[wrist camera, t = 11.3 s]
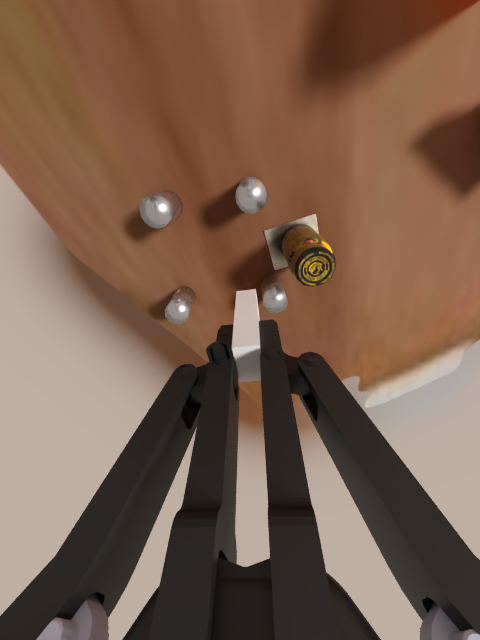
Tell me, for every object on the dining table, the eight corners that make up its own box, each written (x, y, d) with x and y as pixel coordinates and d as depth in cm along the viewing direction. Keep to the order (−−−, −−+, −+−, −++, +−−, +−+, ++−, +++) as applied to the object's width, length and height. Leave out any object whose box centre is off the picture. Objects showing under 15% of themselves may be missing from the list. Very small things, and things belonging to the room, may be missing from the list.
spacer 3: (235, 178, 35) (233, 181, 29) (262, 174, 34) (265, 175, 29) (239, 207, 37) (238, 215, 31) (264, 203, 37) (268, 210, 31)
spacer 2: (172, 287, 45) (161, 305, 39) (192, 285, 45) (184, 303, 39) (178, 305, 47) (168, 325, 41) (197, 303, 47) (190, 322, 41)
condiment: (321, 256, 41) (345, 285, 31) (274, 270, 43) (282, 302, 33) (315, 213, 37) (340, 230, 27) (264, 230, 39) (269, 252, 29)
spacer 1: (153, 193, 36) (134, 198, 30) (177, 189, 36) (164, 193, 30) (161, 220, 38) (146, 230, 33) (185, 216, 38) (173, 226, 32)
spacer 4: (260, 276, 43) (262, 293, 37) (281, 273, 43) (287, 290, 37) (262, 295, 45) (264, 314, 40) (283, 292, 45) (288, 311, 39)
